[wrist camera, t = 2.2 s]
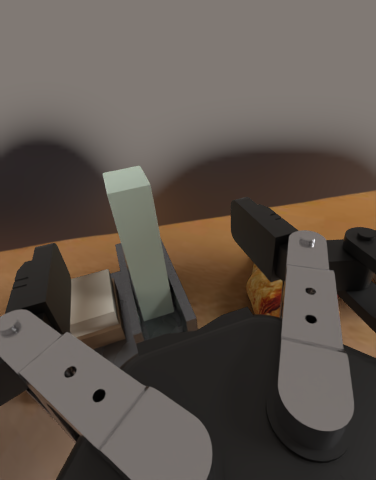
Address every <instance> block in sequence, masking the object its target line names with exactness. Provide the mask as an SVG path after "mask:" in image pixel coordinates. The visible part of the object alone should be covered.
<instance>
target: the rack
mask: <svg viewBox="0 0 376 480" xmlns="http://www.w3.org/2000/svg"><path fill="white" fill-rule="evenodd" d="M160 239H161V238H160ZM161 244H162V249H163V255H164V260H165V265H166V271H167V276H168V281H169V287H170V292H171V297H172V303H173V308H174V312H172V313H169V314H166V315H163V316H159V317H156V318H153V319H150V320H147V321H144V320H143V316H142V313H141V310H140V306H139V303H138V299H137V296H136V292H135V289H134V285H133V282H132V279H131V275H130V272H129V268H128V265H127V261H126V258H125V254H124V251H123V248H122V244H121V243H120V244H116V245H115V246H116V251H117V256H118V261H119V266H120V271H119V272H115V273H112V274H110V275H111V278H114V281H115V284H116V286H117V290H118V296H119V302H120V307H121V313H122V319H123V325H124V331H125V337H126V339H123V340H120V341H117V342H114V343H111V344H108V345H105V346H102V347H99V348H96V349H93V350H94V351H96V352H97V353H99V354H100V355H101V356H103V357H104V358H106V359H107V360H108V361H110V362H111V363H113V364H114V365H115V366H117V367H118V368H120V367H121V366H122V365H123V364H124V363H125V362H126V361H127V360H129V359H130V358H131V357H132V356H134V355H136V354H137V353H138V350H137V345H136V343H139V342H142V341H146V340H149V339H152V338H155V337H158V336H161V335H164V334H169V333H179V332H188V331H196V330H198V328H197V319H196V316H195V314H194V312H193V309H192V307H191V305H190V303H189V301H188V298H187V296H186V294H185V292H184V289H183V287H182V285H181V283H180V280H179V278H178V276H177V274H176V271H175V269H174V267H173V265H172V263H171V260H170V258H169V256H168V254H167V251H166V249H165V247H164V245H163V242H162V240H161ZM70 334H71V332H70Z"/></svg>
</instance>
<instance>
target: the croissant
mask: <svg viewBox="0 0 376 480" xmlns="http://www.w3.org/2000/svg"><path fill="white" fill-rule="evenodd" d="M282 283H283V281H282V280H281V279H280V280H277V281H274V282H270V281H269V280H268V279H267V278H266V276H265V275H264V274H263V273H262V272H261V271H260V269H259V268H258V267H257V266H256V265H255V264H254V265H253V272H252V275H251V277H250V278H249V279H248V282H247V284H246V291H247V294H248V297H249V299H250V301H251V304H252V307H253V311H254V313H255V314H263V315H271V316H276V317H279V312H280V302H281V292H282ZM338 297H339V296H338V295H337V299H338ZM338 307H339V306H338ZM339 316H340V310H339Z"/></svg>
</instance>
